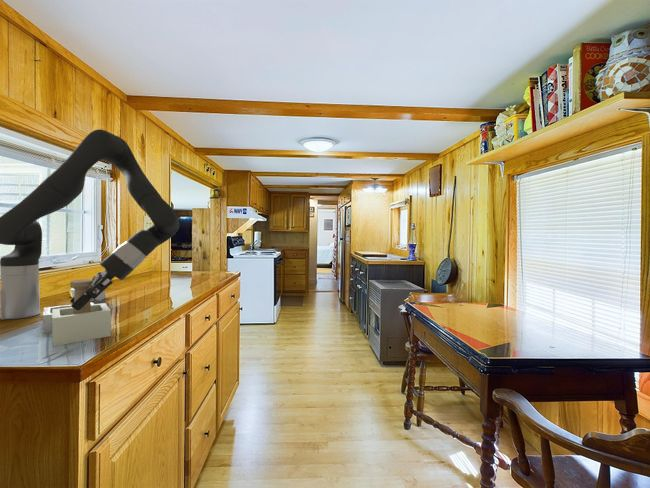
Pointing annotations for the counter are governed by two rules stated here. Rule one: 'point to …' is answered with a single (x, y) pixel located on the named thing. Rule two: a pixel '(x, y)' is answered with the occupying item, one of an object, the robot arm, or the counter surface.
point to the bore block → (48, 317)
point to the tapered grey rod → (100, 298)
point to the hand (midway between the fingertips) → (73, 305)
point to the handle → (81, 293)
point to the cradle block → (80, 324)
